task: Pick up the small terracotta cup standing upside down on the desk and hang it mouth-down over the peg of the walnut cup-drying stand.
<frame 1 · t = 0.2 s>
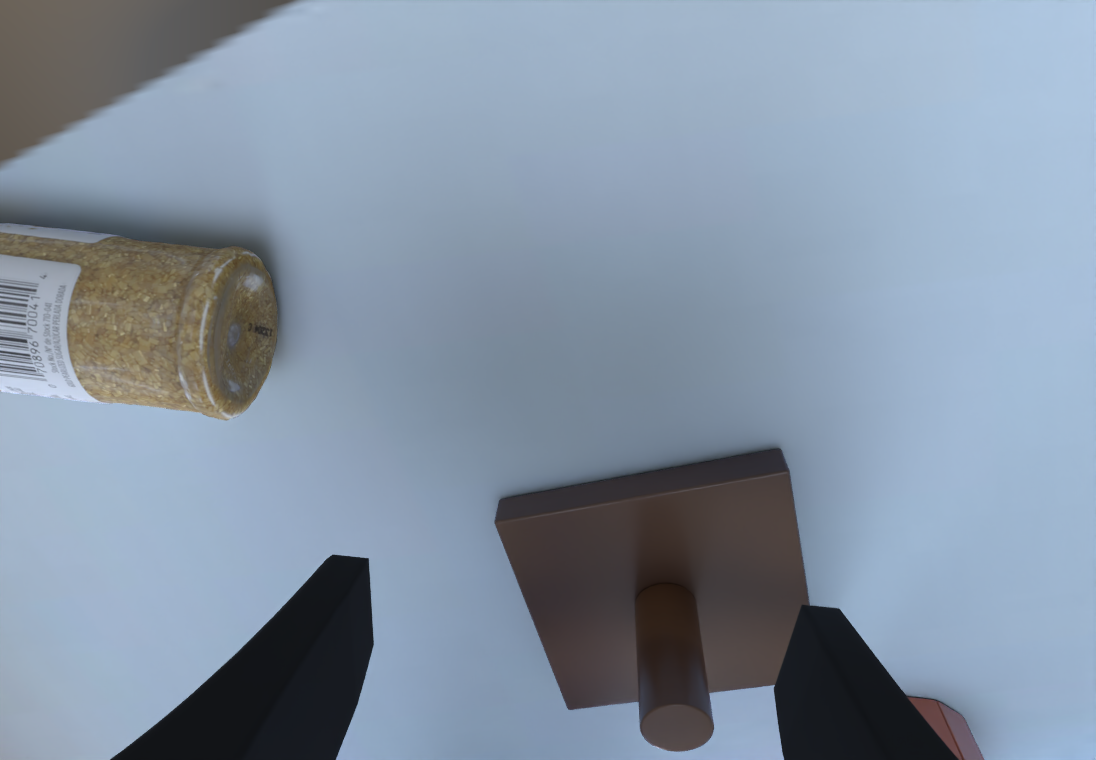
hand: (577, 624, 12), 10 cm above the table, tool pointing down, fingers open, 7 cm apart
cup: (895, 742, 28), on the table
sprinkles bottle: (257, 338, 19), point 2 cm above the table
peg stand: (662, 579, 25), on the table
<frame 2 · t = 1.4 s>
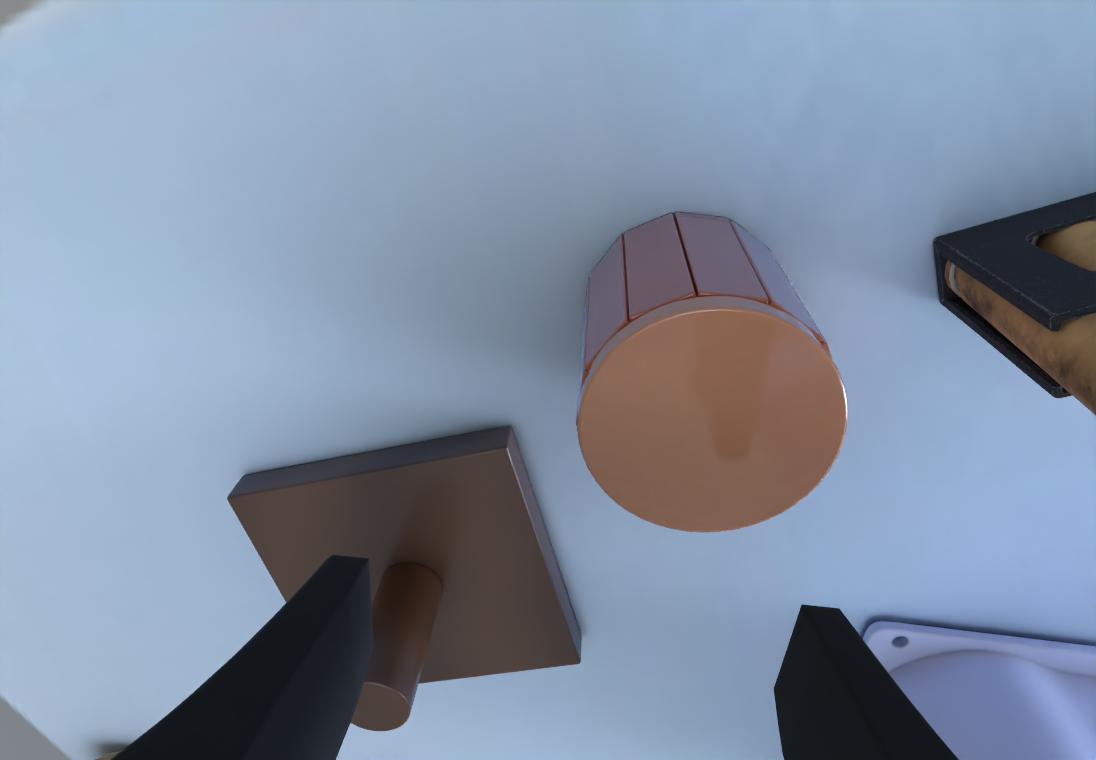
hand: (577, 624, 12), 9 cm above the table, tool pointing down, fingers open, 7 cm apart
cup: (682, 309, 20), on the table
peg stand: (420, 559, 24), on the table
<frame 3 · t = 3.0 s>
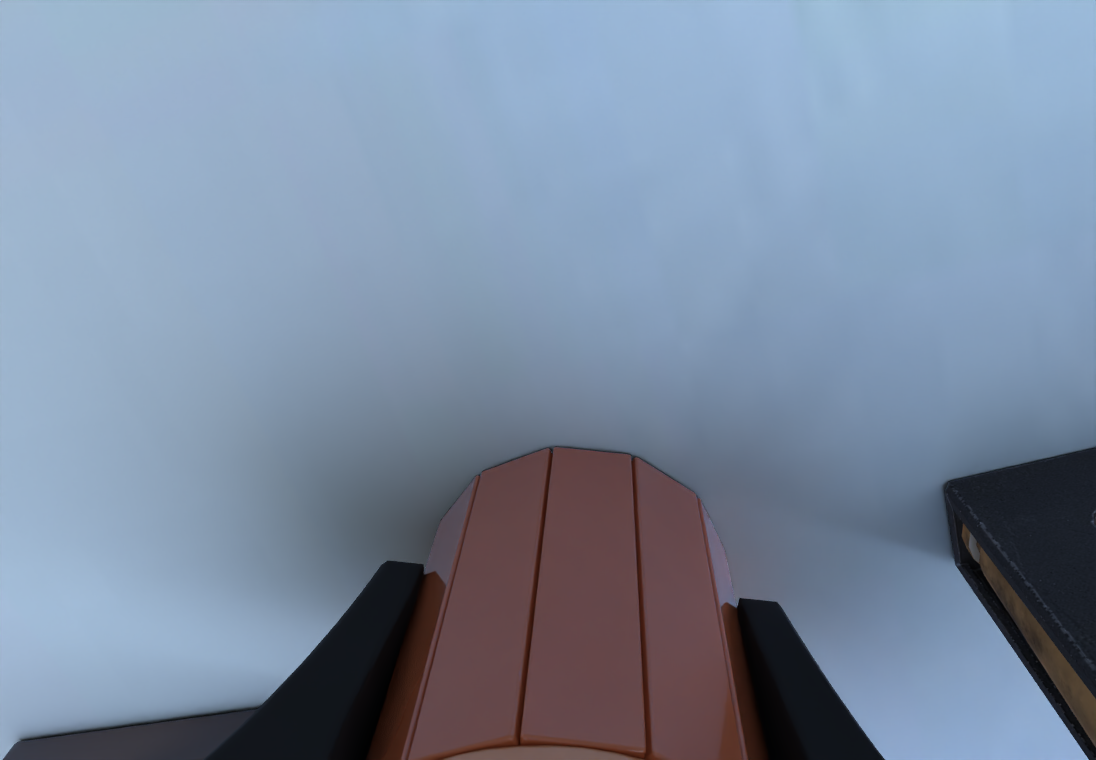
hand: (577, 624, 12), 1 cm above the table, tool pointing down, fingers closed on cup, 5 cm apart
cup: (578, 565, 13), on the table, touching gripper
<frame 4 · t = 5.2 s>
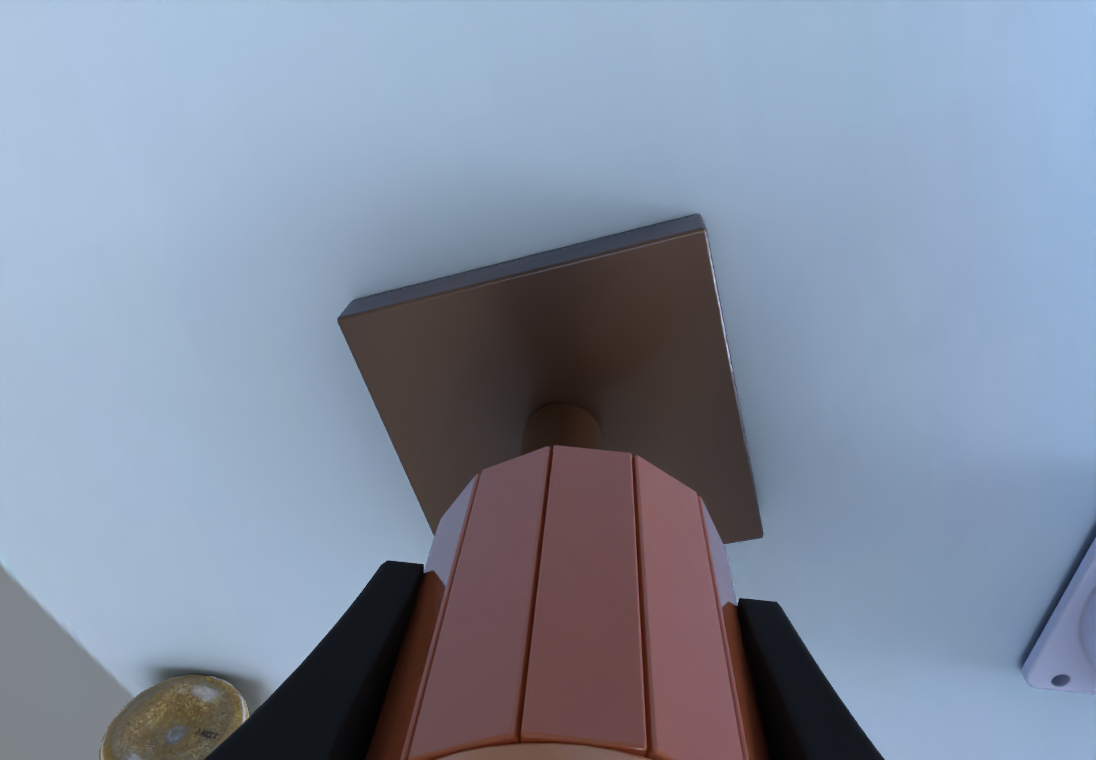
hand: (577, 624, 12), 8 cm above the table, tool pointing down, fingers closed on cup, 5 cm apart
cup: (578, 564, 13), point 7 cm above the table, touching gripper
sprinkles bottle: (173, 722, 24), point 2 cm above the table
peg stand: (565, 411, 20), on the table
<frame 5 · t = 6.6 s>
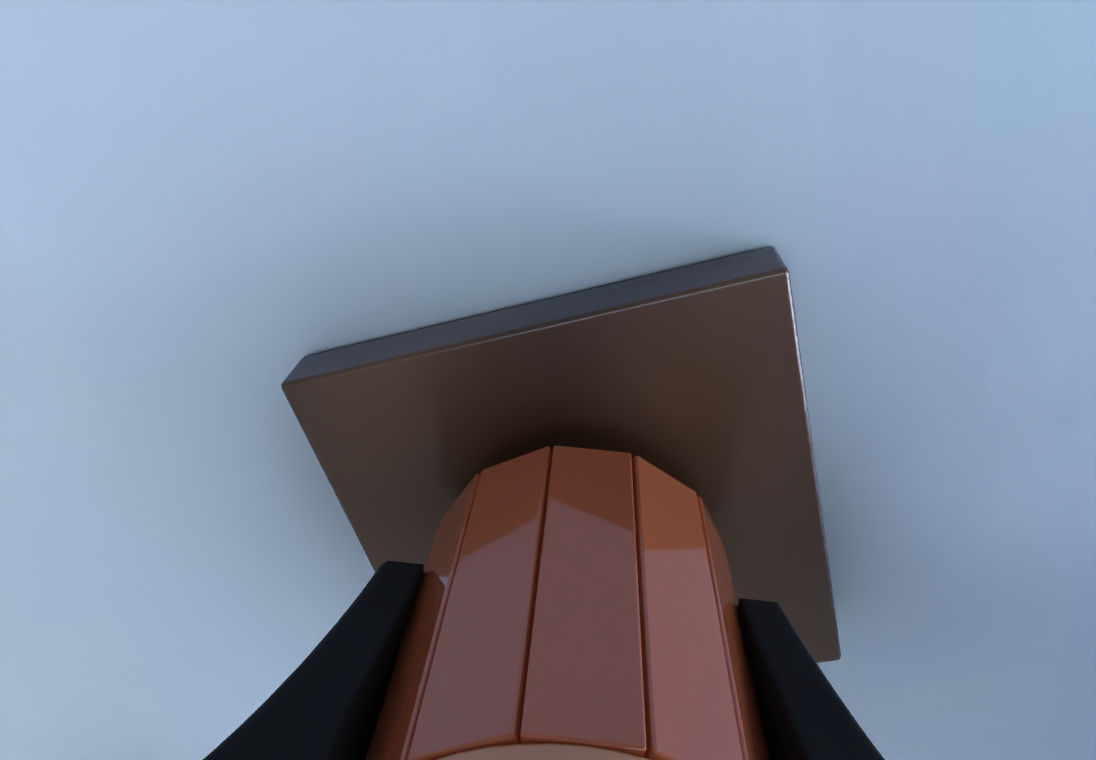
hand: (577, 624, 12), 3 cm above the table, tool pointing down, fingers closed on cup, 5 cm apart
cup: (578, 564, 13), point 2 cm above the table, touching gripper
peg stand: (584, 496, 15), on the table
when the fingers open (3 cm above the table, at t = 7.4 s): cup stays where it is, resting on peg stand.
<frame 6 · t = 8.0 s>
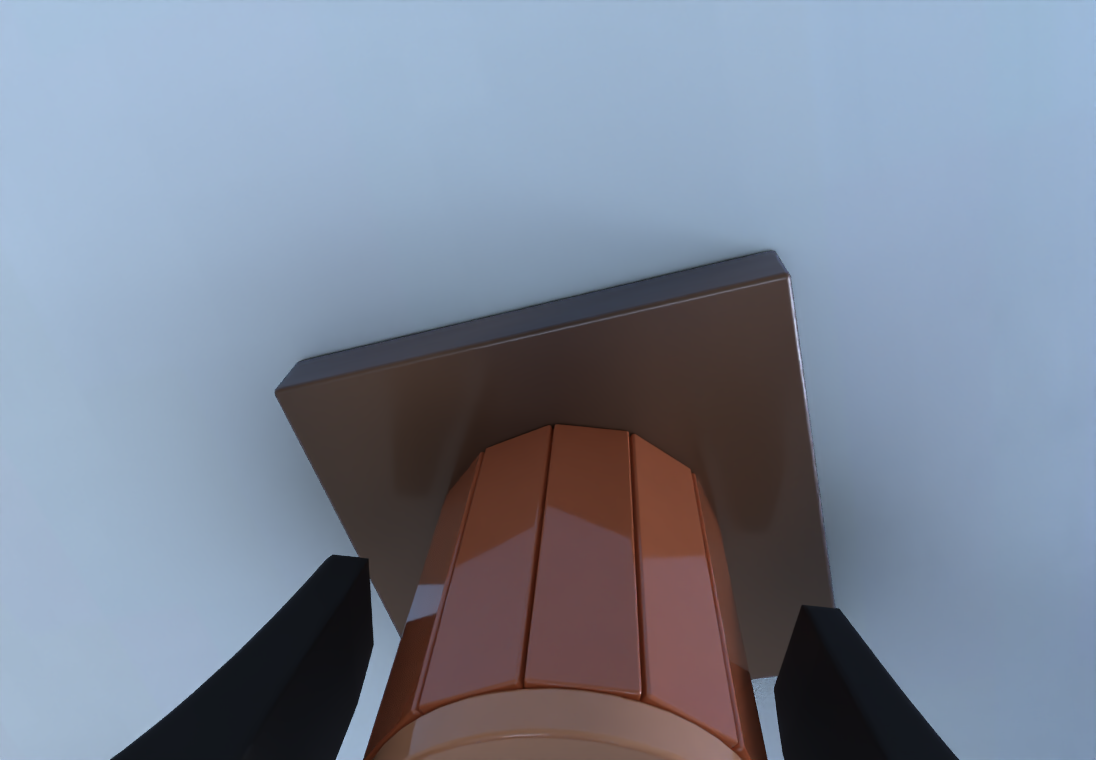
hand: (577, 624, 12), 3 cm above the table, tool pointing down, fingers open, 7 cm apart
cup: (577, 540, 14), point 1 cm above the table, touching peg stand
peg stand: (582, 503, 15), on the table
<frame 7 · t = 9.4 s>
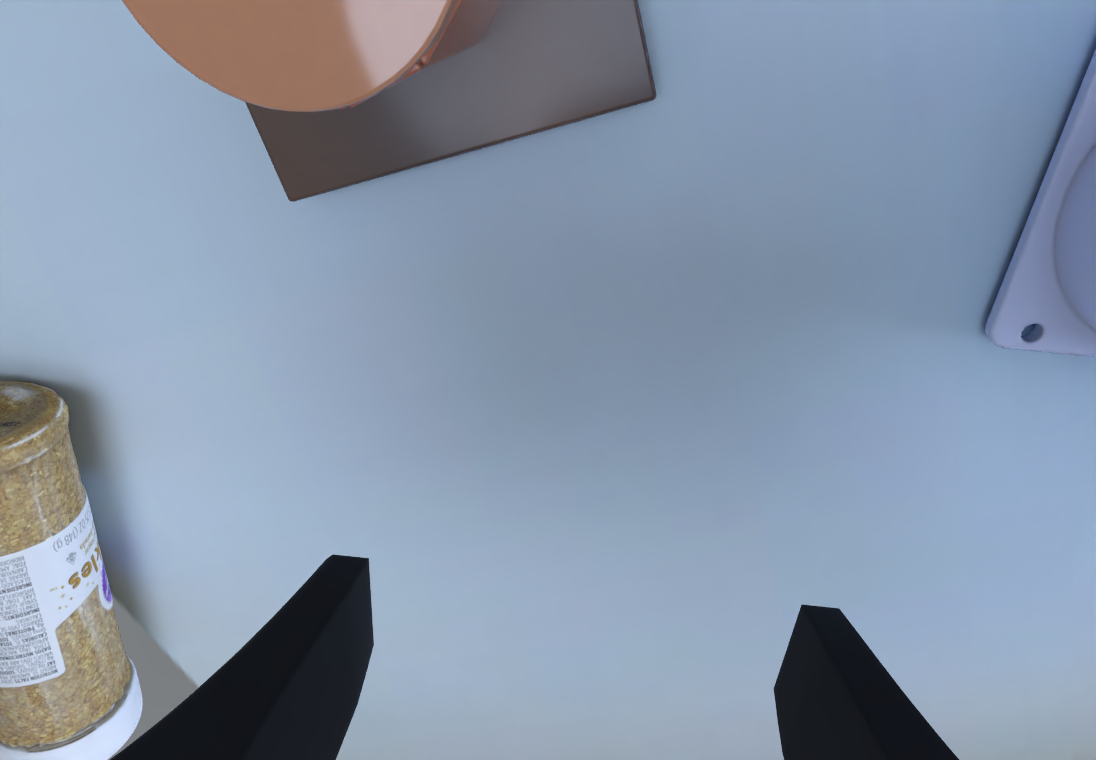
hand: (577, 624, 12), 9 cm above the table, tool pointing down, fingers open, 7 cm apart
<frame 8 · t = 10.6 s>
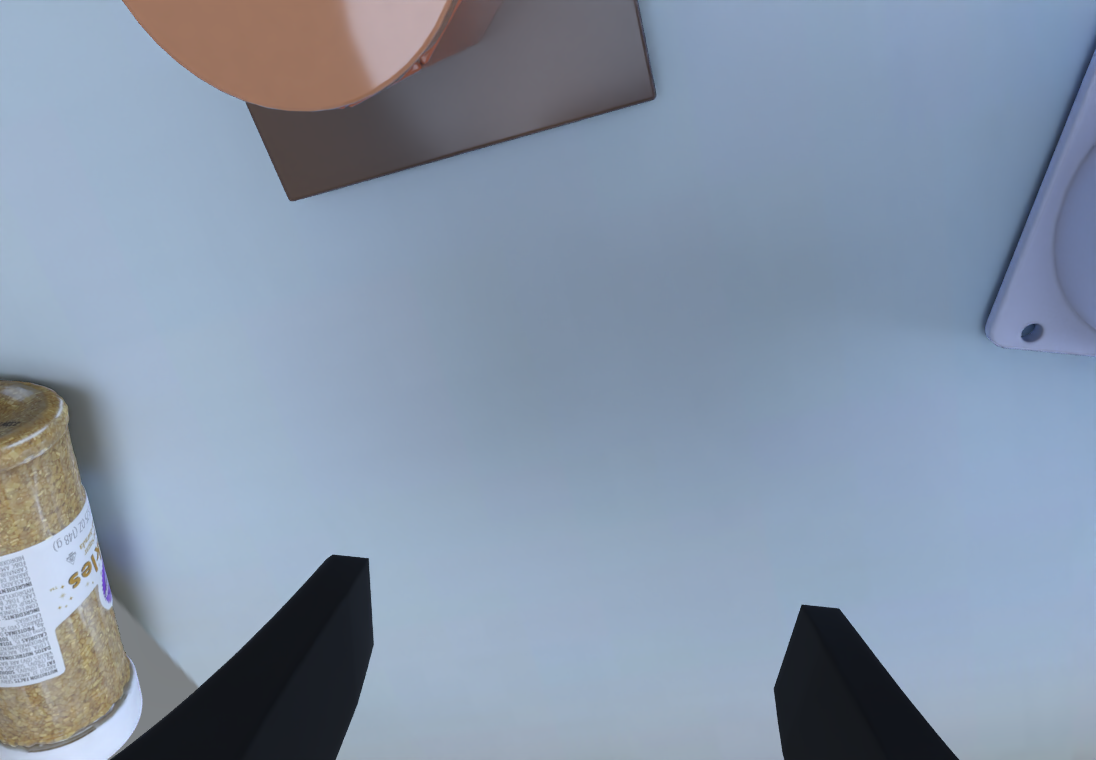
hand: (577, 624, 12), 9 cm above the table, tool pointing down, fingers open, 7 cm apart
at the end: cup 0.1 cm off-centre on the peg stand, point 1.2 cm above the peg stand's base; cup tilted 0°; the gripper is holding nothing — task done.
